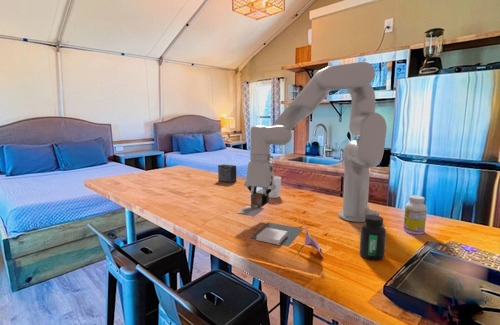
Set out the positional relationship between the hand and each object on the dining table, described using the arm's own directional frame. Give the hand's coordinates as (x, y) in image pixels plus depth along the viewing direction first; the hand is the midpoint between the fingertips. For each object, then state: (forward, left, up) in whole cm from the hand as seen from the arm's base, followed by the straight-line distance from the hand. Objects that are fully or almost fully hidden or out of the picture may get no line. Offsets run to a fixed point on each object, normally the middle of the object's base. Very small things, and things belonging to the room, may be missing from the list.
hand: (259, 203), depth 112 cm
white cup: (+9, -35, -8) cm, 37 cm away
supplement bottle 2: (-54, -15, -8) cm, 57 cm away
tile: (-11, +10, -6) cm, 16 cm away
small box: (+49, -54, -8) cm, 73 cm away
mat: (-11, +9, -7) cm, 16 cm away
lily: (-26, +18, -8) cm, 32 cm away
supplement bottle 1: (-42, +11, -8) cm, 44 cm away
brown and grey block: (0, +3, -1) cm, 3 cm away
